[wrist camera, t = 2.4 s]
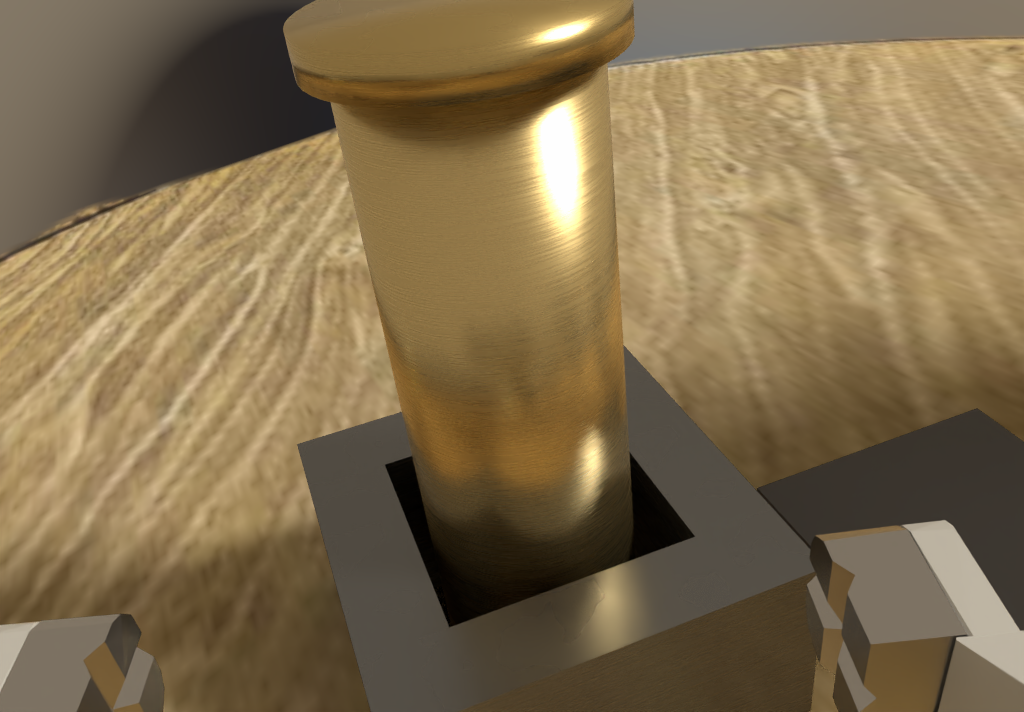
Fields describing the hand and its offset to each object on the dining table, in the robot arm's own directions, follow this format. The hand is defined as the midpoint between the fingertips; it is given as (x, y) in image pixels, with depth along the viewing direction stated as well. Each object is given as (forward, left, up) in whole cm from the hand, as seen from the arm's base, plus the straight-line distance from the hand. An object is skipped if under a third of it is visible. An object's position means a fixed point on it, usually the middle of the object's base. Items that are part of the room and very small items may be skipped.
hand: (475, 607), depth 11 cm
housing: (-4, -12, -16) cm, 20 cm away
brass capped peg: (-4, -12, -16) cm, 20 cm away
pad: (-19, -9, -16) cm, 26 cm away
